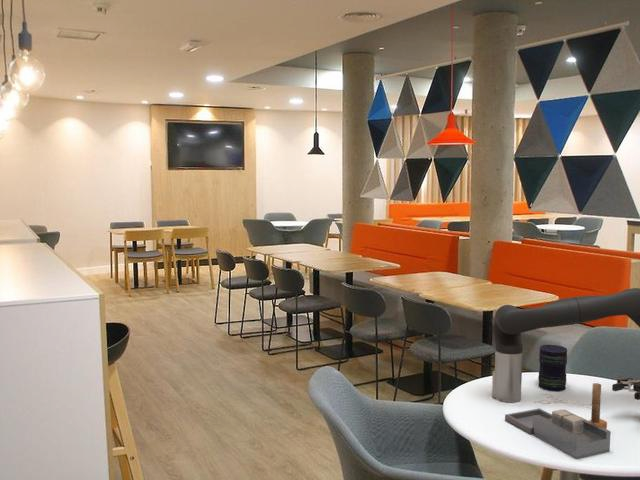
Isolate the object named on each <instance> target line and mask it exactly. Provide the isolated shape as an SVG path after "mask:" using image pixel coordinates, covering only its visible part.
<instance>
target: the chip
mask: <svg viewBox="0 0 640 480" xmlns="http://www.w3.org/2000/svg"><path fill="white" fill-rule="evenodd" d="M575 415H576V414H575ZM575 415H569V416H564V417H563V429H565V430H567V431H569V432H571V433H573V434H578V433H583V421H584V419H585V418H583V417H581V416H579V417H577V416H578V415H577V416H575ZM580 417H581V418H580ZM582 418H583V419H582Z"/></svg>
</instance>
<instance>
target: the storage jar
mask: <svg viewBox="0 0 640 480" xmlns="http://www.w3.org/2000/svg"><path fill="white" fill-rule="evenodd" d="M538 355H539V356H538V357H539V359H538V361H539V370H538V377H537V378H538V388H540V389H541V390H544V391H546V392H547V391H548V392H558V393H559V392H564V391H566V389H567V387H566V385H567V373H566V371H567V369H566V368H567V364H568V349H567V347H565V346H563V345H562V346H561V345H557V344H543V345H540V346H539V354H538Z"/></svg>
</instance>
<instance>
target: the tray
mask: <svg viewBox="0 0 640 480" xmlns="http://www.w3.org/2000/svg"><path fill="white" fill-rule="evenodd" d="M534 415H538V416H540V417H542V418H544V419H550V418H552V413H549V412H548V411H545V410H543V409H542V408H533V409H528V410H524V411H518V412H512V413H508V414H505V415H504V421H505V422H507V423H508V424H510V425H512V426H513V427H515V428H517V429H519V430H520V431H521V430H522V431H523V432H525V433H526V434H527V435H532V426H533V416H534Z"/></svg>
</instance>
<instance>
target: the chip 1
mask: <svg viewBox="0 0 640 480" xmlns="http://www.w3.org/2000/svg"><path fill="white" fill-rule="evenodd" d="M565 410H566V409H557V410H552V411H551V414H552V423H553V424H555V425H557V426H559V427H561V428H563V417H564V416H569V415H572V414H571V413H572V412H571V413H569V412H570V411H569V412H567V411H568V410H566V411H565Z"/></svg>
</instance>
